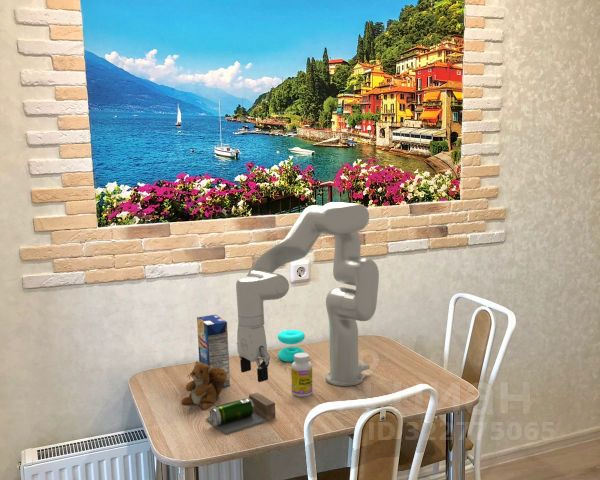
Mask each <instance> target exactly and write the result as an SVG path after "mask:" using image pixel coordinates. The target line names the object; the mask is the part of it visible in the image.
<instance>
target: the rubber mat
mask: <svg viewBox="0 0 600 480" xmlns="http://www.w3.org/2000/svg"><path fill="white" fill-rule="evenodd" d="M205 420H206V421H207V422H208V423H210V424H211V425H212V426H213V427H214V428H216V429H217V430H219V432H221V433H223V434H224V435H229V434H232V433H235V432H239V431H242V430H245V429H248V428H251V427H255V426H258V425H261V424H264V423H266V422H267V420H266V419H264V418H263V417H261V416H260V415H258V414H257V413H255V412H254V414H253V415H252V416H250V417H246V418H243V419H239V420H236V421H233V422H229V423H226V424H223V425H219V426H218V425H216V426H215V425H213V423H212V421H211V419H210V416H208V417H206V419H205Z"/></svg>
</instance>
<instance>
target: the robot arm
mask: <svg viewBox="0 0 600 480" xmlns="http://www.w3.org/2000/svg"><path fill="white" fill-rule="evenodd" d="M369 221H370V212H369V210H368V208H367V207H366V206H365V205H363V204H360V203H354V202H351V203H350V202H339V201H336V202H335V201H331V202H328V203H326V204H324V205H309V206H307V207H306V208H304V210H302V212H301V214H300V215H299V216H298V217H297V220H296V221H295V222H294V224H293V225H292V227H291V228H290V230H289V231H288V232H287V234H286V236H284V238H283V239H282V240H281V241H280V242H278V243H276V244H275V245H273V246H272V247H271V248H269V249H268V250H266V251H264V252H263V253H262V254H261V255H260V256H259V257H258V258H257V259H256V260H255V262H254V263H253V265H251V268H250V269H249V271H248V273H247V275H246V276H245V277H240V278H239V279H237V280H236V283H235V290H236V291H235V292H236V302H237V304H236V306H237V331H236V333H237V335H236V346H237V349H236V351H237V353H238V355H239V359H240V372H241V373H246V372H249V371H252V363H254V362H255V364H256V366H257V368H256V372H257V374H256V375H257V382H258V383H262V382H265V381H268V380H269V369H268V367H269V365H270V360H271V355H270V354H269V353H268V347H267V346H268V344H267V336H266V331H265V312H264V311H265V310H264V302H265V301H272V300H273V301H275V300H279V299H281V298H283V297H285V296H286V295H287V294H288V292H289V290H290V282H289V280H288V279H287V277H286V276H284V275H282V274H280V273H276V272H275V271H276V270H277V269H279V268H280V267H282V266H284V265H287V264H289V263H292V262H295V261H298V260H301V259H304V258H305V257H307V255H308V254H309V252H310V250H311V249H312V247H313V246H314V245H315V243H316V241H318V239H319V237H321V234H324V235H331V236H333V237H334V253H333V254H334V255H333V265H332V266H333V267H332V274H333V279H334V280H335V281H336V282H338V283H341V284H345V285H348V286H354V287H355V289H354V288H348V287H345V286H344V287H343V286H339V287H333V288H332V289H331V290H329V291H328V293H327V295H326V298H325V307H326V312H327V317H328V327H329V328H328V329H329V330H328V331H329V371H330V372H328V373H327V374H326V375H325V381H326V382H327V383H329V384H330V385H334V386H337V387H338V386H339V387H349V386H350V387H351V386H355V385H359V384H360V383H362V382H363V381H364V374H362V372H363V371H367V370H369V369H370V364H369V363H364V364H362V363H359V328H358V323H357V321H359V322H368V321H369V320H371V319H372V318H373V316H374V315H375V312H376V309H377V302H378V291H379V278H380V273H379V272H380V271H379V267H378V265H377V263H376V262H375V261H374V260H373V259H371V258H368V257H362V256H361V249H362V248H361V245H362V243H361V241H362V240H361V237H360V236H361V235H360V233H359V232H360V231H362V230H364V229H365V228H366V226H368V224H369Z"/></svg>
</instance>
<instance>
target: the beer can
mask: <svg viewBox="0 0 600 480" xmlns="http://www.w3.org/2000/svg"><path fill="white" fill-rule="evenodd" d="M254 413H255V412H254V404H253V402H252V400H251V399H249V397H244V398H241V399H238V400H233V401H231V402H227V403H223V404H218V405H216V406H213V407H211V408H210V409H209V417H210V419H211V421H212V423H213V425H212V426H214V425H215V426H216V425H218V426H219V425H223V424H226V423H229V422H233V421H236V420H239V419H243V418H246V417H250V416H252V415H253V414H254ZM215 426H214V427H215Z"/></svg>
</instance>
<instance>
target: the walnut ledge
mask: <svg viewBox="0 0 600 480" xmlns="http://www.w3.org/2000/svg"><path fill="white" fill-rule="evenodd" d="M248 398H249V399H251V400H252V402H253V404H254V413H255V414H257V415H258V416H260V417H261V418H263V419H264V420H266V421H268V420H272V419H274V418H275V419H276V402H274V401H272V400H271V399H269V398H268V397H267V396H265V395H263V394H261V393H259V392H254V393H251V394H249V395H248Z"/></svg>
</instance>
